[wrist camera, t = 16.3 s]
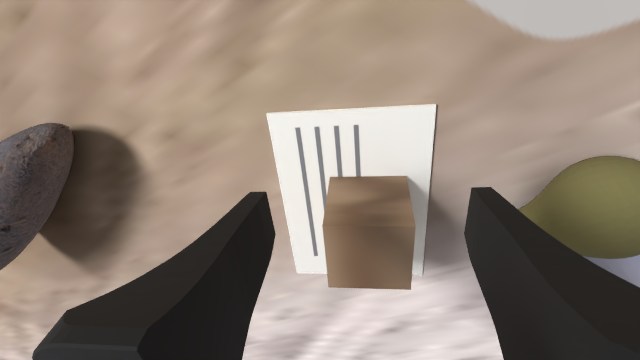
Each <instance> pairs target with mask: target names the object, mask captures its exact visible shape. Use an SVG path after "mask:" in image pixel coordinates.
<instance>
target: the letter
mask: <svg viewBox="0 0 640 360" xmlns="http://www.w3.org/2000/svg"><path fill="white" fill-rule="evenodd" d="M435 114H436V104H425V105H406V106H387V107H368V108H349V109H330V110H311V111H292V112H273V113H267V119H268V125H269V130H270V135H271V140H272V145H273V151H274V156H275V161H276V166H277V172H278V177H279V182H280V187H281V193H282V198H283V203H284V208H285V213H286V219H287V224H288V229H289V234H290V240H291V245H292V250H293V255H294V260H295V266H296V271H297V273H313V274H327V266H326V256H325V247H324V237H323V228H322V225H323V218H324V212H325V205H326V199H327V192H328V186H329V179H330V177H356V176H407V180H408V186H409V192H410V197H411V203H412V208H413V214H414V220H415V225H416V229H415V242H414V254H413V267H412V275H422V272H423V260H424V248H425V236H426V224H427V212H428V199H429V187H430V175H431V163H432V151H433V139H434V126H435Z"/></svg>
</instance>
